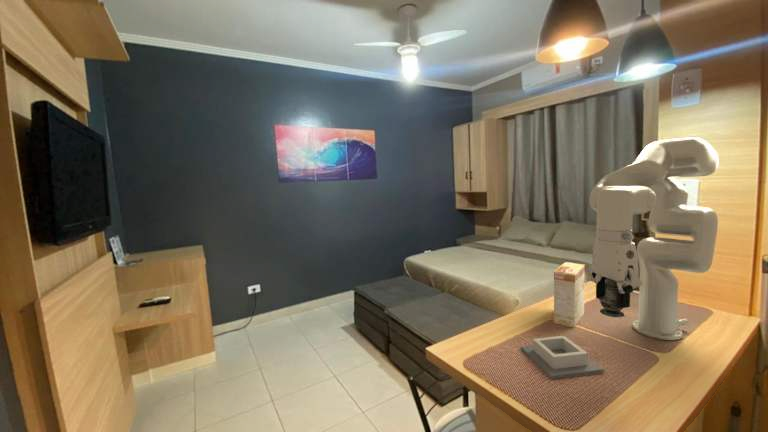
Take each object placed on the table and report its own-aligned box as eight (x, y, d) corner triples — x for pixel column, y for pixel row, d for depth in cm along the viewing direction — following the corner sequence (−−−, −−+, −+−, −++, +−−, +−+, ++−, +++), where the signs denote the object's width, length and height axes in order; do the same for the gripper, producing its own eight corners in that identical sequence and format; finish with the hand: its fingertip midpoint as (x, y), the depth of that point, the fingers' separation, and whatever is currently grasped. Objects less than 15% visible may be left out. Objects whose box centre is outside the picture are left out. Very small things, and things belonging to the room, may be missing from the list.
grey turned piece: (630, 318, 80) (632, 272, 78) (605, 317, 81) (606, 272, 79) (618, 308, 85) (619, 266, 84) (594, 308, 86) (595, 266, 85)
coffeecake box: (564, 309, 124) (564, 261, 122) (585, 313, 120) (585, 264, 117) (552, 322, 114) (552, 271, 112) (575, 328, 109) (575, 274, 107)
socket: (565, 344, 99) (565, 331, 99) (603, 372, 84) (603, 357, 84) (520, 349, 98) (520, 335, 97) (551, 379, 83) (551, 363, 82)
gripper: (659, 240, 73) (656, 314, 75) (599, 229, 90) (598, 290, 92) (631, 243, 72) (628, 317, 74) (576, 231, 89) (575, 292, 91)
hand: (612, 301), depth 83 cm, fingers closed on grey turned piece, 5 cm apart
